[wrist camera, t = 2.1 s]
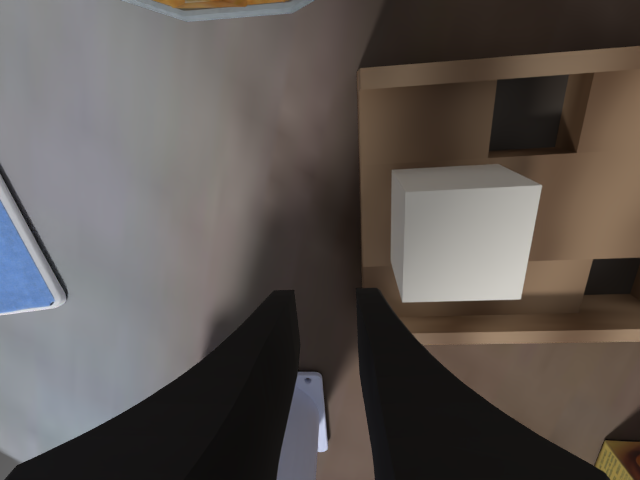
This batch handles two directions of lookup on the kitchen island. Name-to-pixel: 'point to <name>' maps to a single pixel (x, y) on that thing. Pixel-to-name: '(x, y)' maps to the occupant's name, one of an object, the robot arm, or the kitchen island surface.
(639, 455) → the candy box
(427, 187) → the block
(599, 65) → the rimmed wooden board
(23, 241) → the tablet computer
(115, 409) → the kitchen island surface
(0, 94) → the kitchen island surface
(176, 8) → the pie
